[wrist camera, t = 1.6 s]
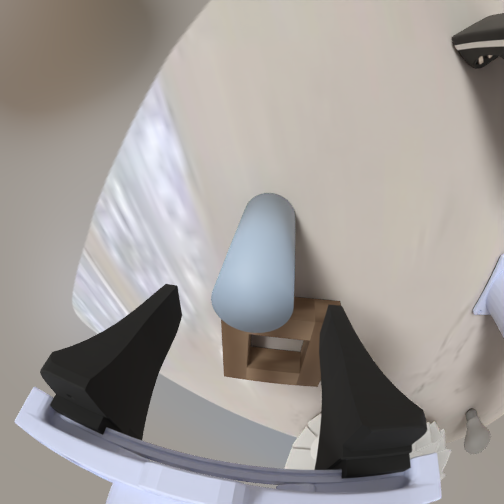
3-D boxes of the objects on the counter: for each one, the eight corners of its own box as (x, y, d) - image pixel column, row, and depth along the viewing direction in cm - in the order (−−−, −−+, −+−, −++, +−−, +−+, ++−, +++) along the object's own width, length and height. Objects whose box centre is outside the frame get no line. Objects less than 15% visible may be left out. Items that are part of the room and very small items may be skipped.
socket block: (340, 301, 25) (343, 324, 23) (317, 365, 31) (317, 386, 28) (228, 288, 26) (220, 310, 24) (229, 356, 32) (224, 376, 29)
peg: (298, 196, 21) (299, 277, 12) (292, 242, 23) (287, 336, 14) (244, 190, 21) (209, 266, 13) (243, 236, 23) (213, 327, 15)
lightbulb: (463, 407, 36) (473, 452, 27) (486, 398, 35) (497, 442, 25) (453, 419, 39) (461, 461, 30) (475, 411, 38) (484, 452, 28)
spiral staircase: (345, 362, 36) (426, 404, 40) (272, 438, 38) (365, 463, 42) (406, 449, 18) (476, 459, 22) (290, 529, 20) (397, 524, 24)
